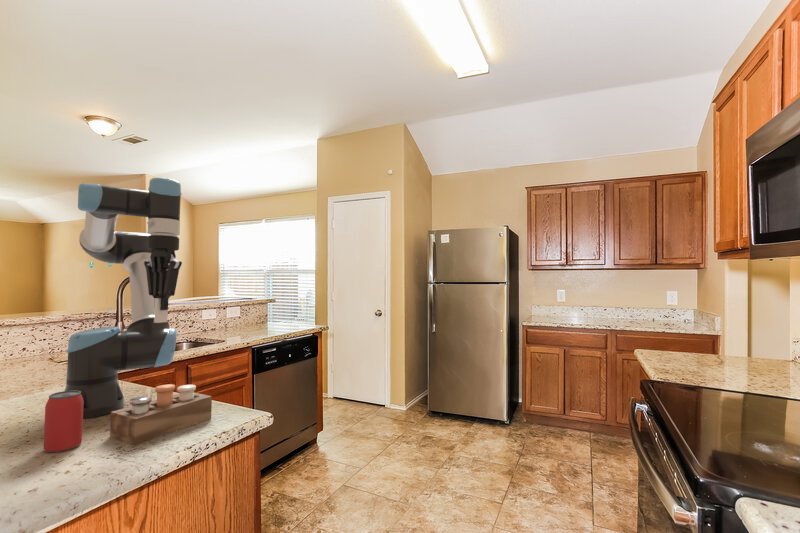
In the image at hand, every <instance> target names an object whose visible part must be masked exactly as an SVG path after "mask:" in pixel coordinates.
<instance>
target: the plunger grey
mask: <svg viewBox="0 0 800 533" xmlns="http://www.w3.org/2000/svg"><path fill="white" fill-rule="evenodd" d="M152 399H153V398H152V396H151V395H141V396H136V397H132V398H131V399H130V400H129V404H130V406H132V414H134V415H138V414H142V413H145V412H149V406H150V402H151V401H153V400H152Z"/></svg>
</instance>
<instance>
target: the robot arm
mask: <svg viewBox="0 0 800 533" xmlns="http://www.w3.org/2000/svg"><path fill="white" fill-rule="evenodd" d="M148 185H149V186H148V189H147V190H145V189H144V190H143V189H142V190H141V189H135V188H128V187H127V188H126V187H118V186H112V185H106V184H99V183H88V182H87V183H86V182H83V183H82V182H81V183H80V184H78V191H77V192H78V195H77V209H78V210H79V211H82V212H83V211H84V212H85V219H84V227H83V229H82V230H81V232H80V233H79V245H80V247H81V248H82V250H83V251H84V252H85V253H86V254H87V255H89V256H90V257H91V258H93V259H96V260H98V261H100V262H103V263H108V264H116V265H117V264H118V265H119V264H121V265H122V264H123V267H124V269H125V270H126V271H127V272H128V274H129V292H130V310H131V312H130V313H131V323H130V324H129V325H127V327H126V330H123V331H122V330H121V329H120V327H119V326H105V327H103V326H102V327H97V328H90V329H86V330H81V331H78V332H75V333H73V334H71V336H69V338H68V343H67V350H66V353H67V360H66V363H67V366H66V380H65V381H66V384H65V388H64V391H71V390H77V391H80V392H81V395H82V397H83V401H84V403H83V420H84V419H89V418H95V417H100V416H104V415H108V414H111V412H113V411H116V410H120V409H123V407H125V406H124V405H125V398H124V394H123V391H122V389H121V386H120V383H119V381H118V380H119V379H118V378H119V376H118V374H119V372H120V371H128V370H137V369H138V370H139V369H147V368H158V367H162V366H168V365H169V364H171V363H172V362H173V360H174V357H175V351H176V345H177V337H178V336H177V334H178V333H177V332H178V331H177V328H176V327H170V323H169V321H168V314H169V313H168V312H169V311H168V310H169V299H170V297H173V296H175V293H176V290H177V289H176V287H177V284H178V279H179V278H178V277H179V274H180V273H179V272H180V270H181V269H180V268H181V267H182V264H183V263H182V262H183V261H182V260H178V259H176V258H177V257H176V255H177V254H176V252H175V251H179V250H180V238H179V237H178V236H180V233H181V220H180V218H181V201H182V200H181V197H182V190H181V189H182V188H181V183H180V181H177V180H176V179H173V178H168V177H167V178H166V177H152V178H150V180H149V183H148ZM119 215H121V216H131V217H140V218H141V217H142V218H147V232H135V231H122V230H121V231H120V230H116V227H117V223H118V219H119Z"/></svg>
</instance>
